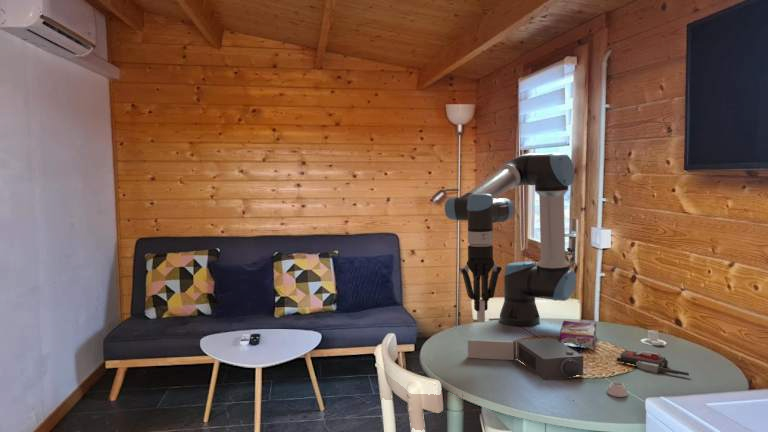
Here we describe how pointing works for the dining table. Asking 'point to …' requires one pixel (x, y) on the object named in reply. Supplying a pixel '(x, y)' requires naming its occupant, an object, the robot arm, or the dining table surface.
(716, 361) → the dining table surface
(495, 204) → the robot arm
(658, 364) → the walkie-talkie
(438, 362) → the dining table surface
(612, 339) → the dining table surface
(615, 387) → the pink dome
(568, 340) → the candy bar box
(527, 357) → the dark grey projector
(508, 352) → the side door
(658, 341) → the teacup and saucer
